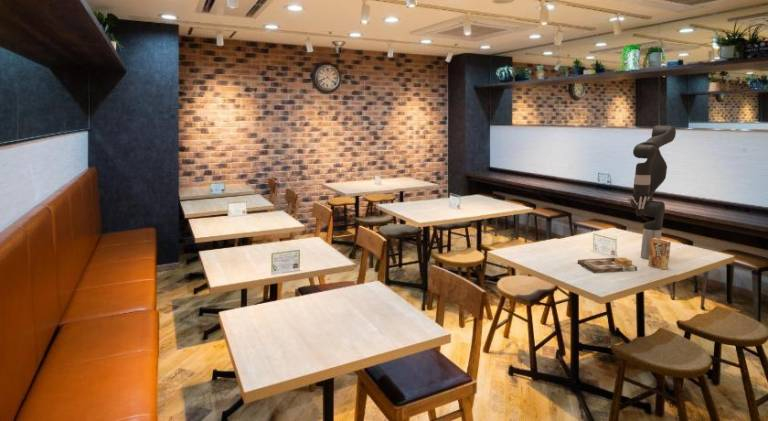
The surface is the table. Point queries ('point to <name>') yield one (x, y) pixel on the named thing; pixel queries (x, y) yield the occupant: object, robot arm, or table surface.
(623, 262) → the ochre block
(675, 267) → the table surface
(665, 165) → the robot arm
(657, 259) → the candy box
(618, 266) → the compartment board
